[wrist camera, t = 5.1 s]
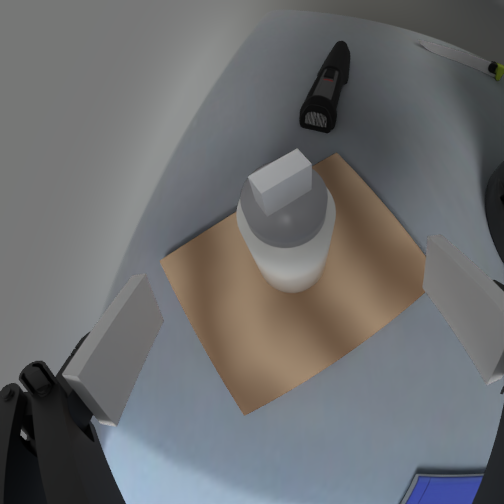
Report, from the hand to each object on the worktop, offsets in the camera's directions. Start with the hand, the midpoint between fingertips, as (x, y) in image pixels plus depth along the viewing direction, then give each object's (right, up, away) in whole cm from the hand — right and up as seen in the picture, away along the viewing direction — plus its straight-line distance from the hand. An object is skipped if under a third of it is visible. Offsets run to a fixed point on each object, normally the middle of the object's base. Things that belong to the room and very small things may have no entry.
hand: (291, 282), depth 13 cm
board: (+2, 0, +10) cm, 10 cm away
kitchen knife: (+33, +29, +15) cm, 47 cm away
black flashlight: (+7, +20, +17) cm, 27 cm away
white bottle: (+1, +1, +9) cm, 9 cm away
